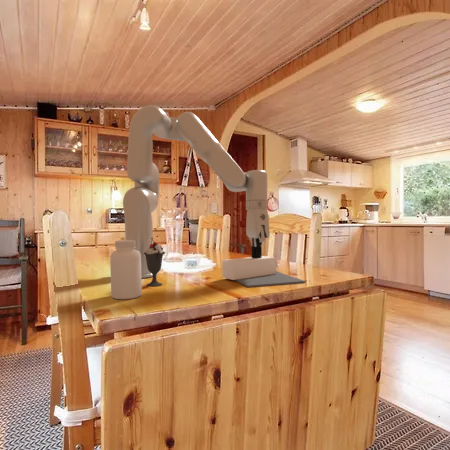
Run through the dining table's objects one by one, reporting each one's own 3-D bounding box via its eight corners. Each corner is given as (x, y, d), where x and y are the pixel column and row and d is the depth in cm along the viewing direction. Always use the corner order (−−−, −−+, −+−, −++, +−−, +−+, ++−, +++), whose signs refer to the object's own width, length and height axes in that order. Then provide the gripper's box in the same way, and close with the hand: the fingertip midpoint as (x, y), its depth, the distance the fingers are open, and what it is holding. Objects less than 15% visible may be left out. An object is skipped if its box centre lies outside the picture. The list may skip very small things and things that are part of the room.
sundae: (146, 288, 100) (146, 238, 99) (141, 284, 106) (140, 236, 105) (168, 285, 103) (167, 237, 102) (161, 282, 109) (161, 236, 108)
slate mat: (247, 287, 101) (247, 285, 101) (225, 275, 120) (225, 274, 120) (305, 282, 107) (305, 281, 107) (275, 272, 126) (275, 270, 126)
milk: (232, 262, 109) (281, 256, 121) (221, 259, 113) (269, 254, 126) (232, 280, 109) (281, 273, 122) (221, 277, 114) (269, 270, 127)
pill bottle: (114, 293, 94) (114, 239, 93) (143, 292, 94) (143, 239, 94) (107, 300, 86) (106, 242, 85) (139, 299, 86) (138, 241, 86)
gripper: (276, 205, 112) (276, 259, 113) (257, 206, 126) (257, 254, 127) (255, 205, 110) (255, 261, 110) (238, 206, 124) (238, 255, 124)
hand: (256, 257), depth 118 cm, fingers closed
